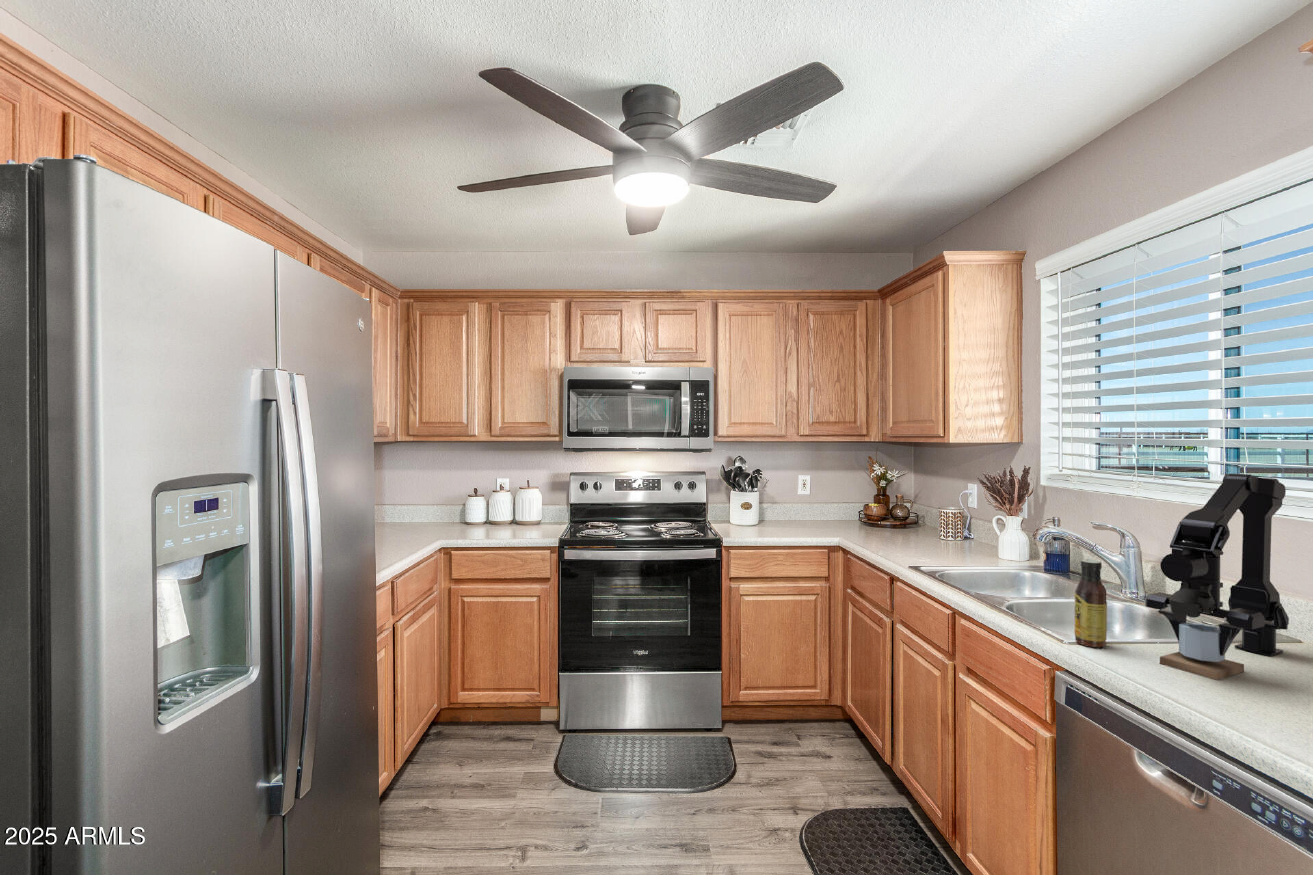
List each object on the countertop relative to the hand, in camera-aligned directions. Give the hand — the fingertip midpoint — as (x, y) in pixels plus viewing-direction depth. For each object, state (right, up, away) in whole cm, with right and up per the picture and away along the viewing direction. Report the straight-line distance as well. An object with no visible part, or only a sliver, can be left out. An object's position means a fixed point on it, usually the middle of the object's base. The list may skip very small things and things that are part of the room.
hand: (1201, 649), depth 134 cm
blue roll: (0, -1, 0) cm, 1 cm away
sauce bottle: (-14, -4, +14) cm, 20 cm away
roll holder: (0, -4, 0) cm, 4 cm away
